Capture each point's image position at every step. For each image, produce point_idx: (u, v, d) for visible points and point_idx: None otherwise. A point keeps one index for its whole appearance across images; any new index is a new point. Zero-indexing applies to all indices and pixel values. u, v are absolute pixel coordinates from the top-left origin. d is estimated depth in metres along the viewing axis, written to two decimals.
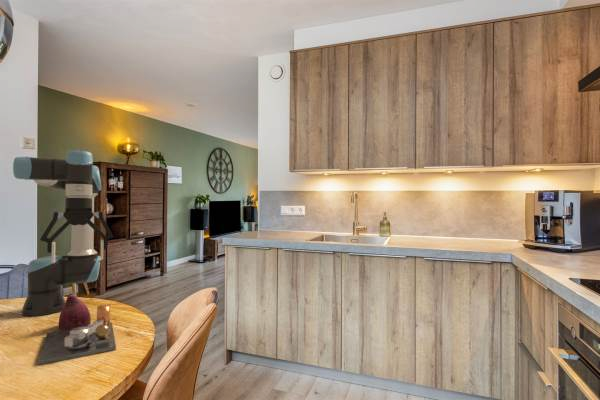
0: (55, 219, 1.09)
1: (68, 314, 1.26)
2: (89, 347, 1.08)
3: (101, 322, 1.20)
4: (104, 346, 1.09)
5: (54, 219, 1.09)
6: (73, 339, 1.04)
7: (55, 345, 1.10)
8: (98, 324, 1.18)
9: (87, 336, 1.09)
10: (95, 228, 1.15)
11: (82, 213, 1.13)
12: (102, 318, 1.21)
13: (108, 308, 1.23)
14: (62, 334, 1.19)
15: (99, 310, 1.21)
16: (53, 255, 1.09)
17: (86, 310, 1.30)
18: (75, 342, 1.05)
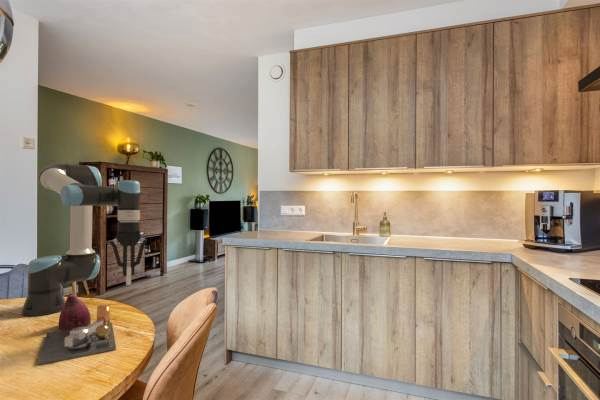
0: (115, 246, 1.24)
1: (68, 314, 1.26)
2: (89, 347, 1.08)
3: (101, 322, 1.20)
4: (104, 346, 1.09)
5: (114, 246, 1.24)
6: (73, 339, 1.04)
7: (55, 345, 1.10)
8: (98, 324, 1.18)
9: (87, 336, 1.09)
10: (132, 252, 1.27)
11: (134, 232, 1.28)
12: (102, 318, 1.21)
13: (108, 308, 1.23)
14: (62, 334, 1.19)
15: (99, 310, 1.21)
16: (128, 278, 1.26)
17: (86, 310, 1.30)
18: (75, 342, 1.05)
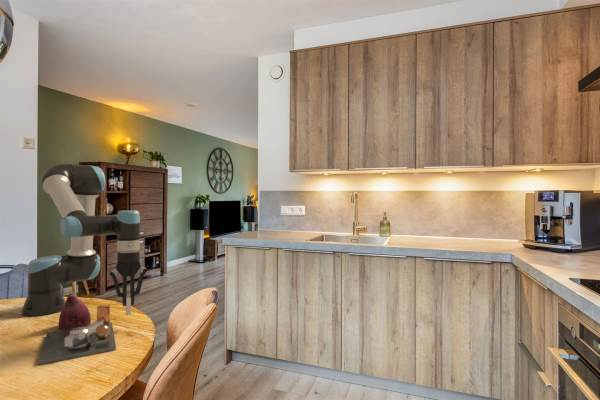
0: (114, 277, 1.24)
1: (68, 314, 1.26)
2: (89, 347, 1.08)
3: (101, 322, 1.20)
4: (104, 346, 1.09)
5: (114, 277, 1.24)
6: (73, 339, 1.04)
7: (55, 345, 1.10)
8: (98, 324, 1.18)
9: (87, 336, 1.09)
10: (132, 282, 1.27)
11: (133, 262, 1.28)
12: (102, 318, 1.21)
13: (108, 308, 1.23)
14: (62, 334, 1.19)
15: (99, 310, 1.21)
16: (127, 308, 1.26)
17: (86, 310, 1.30)
18: (75, 342, 1.05)
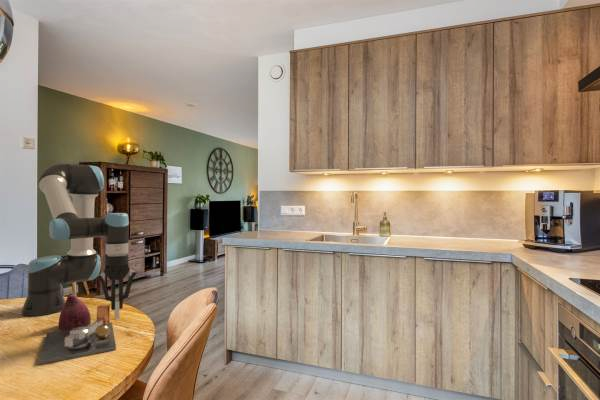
0: (102, 280, 1.22)
1: (68, 314, 1.26)
2: (89, 347, 1.08)
3: (101, 322, 1.20)
4: (104, 346, 1.09)
5: (102, 281, 1.22)
6: (73, 339, 1.04)
7: (55, 345, 1.10)
8: (98, 324, 1.18)
9: (87, 336, 1.09)
10: (121, 286, 1.25)
11: (122, 265, 1.26)
12: (102, 318, 1.21)
13: (108, 308, 1.23)
14: (62, 334, 1.19)
15: (99, 310, 1.21)
16: (116, 312, 1.24)
17: (86, 310, 1.30)
18: (75, 342, 1.05)
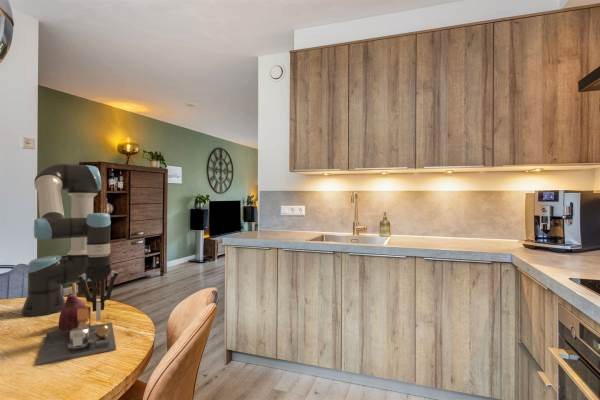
0: (83, 281, 1.21)
1: (68, 314, 1.26)
2: (89, 347, 1.08)
3: (86, 323, 1.19)
4: (104, 346, 1.09)
5: (83, 282, 1.21)
6: (82, 338, 1.05)
7: (55, 345, 1.10)
8: (85, 325, 1.18)
9: (88, 335, 1.10)
10: (102, 287, 1.24)
11: (104, 266, 1.24)
12: (85, 319, 1.20)
13: (90, 309, 1.22)
14: (62, 334, 1.19)
15: (82, 311, 1.20)
16: (97, 313, 1.23)
17: None
18: (82, 341, 1.06)
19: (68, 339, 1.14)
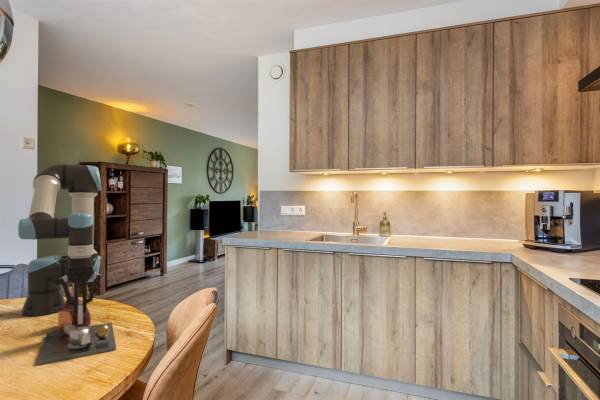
0: (64, 284, 1.17)
1: None
2: (89, 347, 1.08)
3: None
4: (104, 346, 1.09)
5: (64, 284, 1.17)
6: None
7: (55, 345, 1.10)
8: None
9: None
10: (84, 289, 1.20)
11: (86, 268, 1.21)
12: (69, 322, 1.17)
13: None
14: (62, 334, 1.19)
15: (65, 314, 1.17)
16: (79, 316, 1.20)
17: None
18: None
19: (68, 339, 1.14)
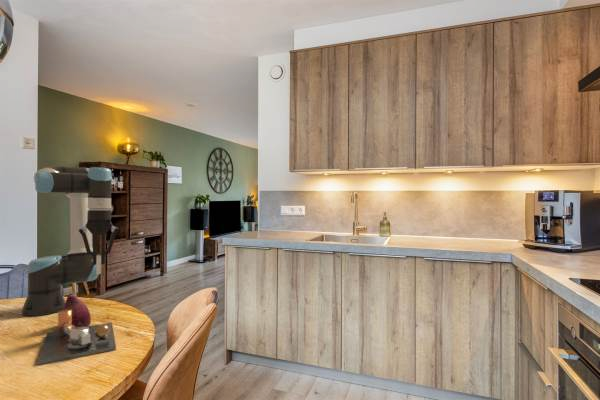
0: (84, 234, 1.22)
1: None
2: (89, 347, 1.08)
3: None
4: (104, 346, 1.09)
5: (84, 235, 1.22)
6: None
7: (55, 345, 1.10)
8: None
9: None
10: (103, 241, 1.25)
11: (104, 220, 1.25)
12: (69, 322, 1.17)
13: (71, 311, 1.19)
14: (62, 334, 1.19)
15: (65, 314, 1.17)
16: (97, 267, 1.24)
17: (86, 310, 1.30)
18: None
19: (68, 339, 1.14)
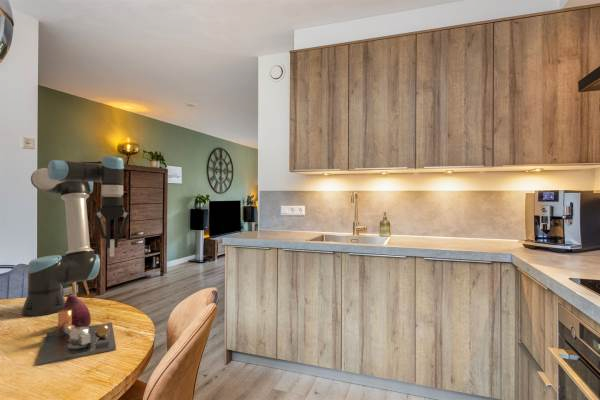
0: (98, 219, 1.30)
1: None
2: (89, 347, 1.08)
3: None
4: (104, 346, 1.09)
5: (98, 219, 1.30)
6: None
7: (55, 345, 1.10)
8: None
9: None
10: (116, 226, 1.33)
11: (117, 206, 1.33)
12: (69, 322, 1.17)
13: (71, 311, 1.19)
14: (62, 334, 1.19)
15: (65, 314, 1.17)
16: (111, 250, 1.32)
17: (86, 310, 1.30)
18: None
19: (68, 339, 1.14)
